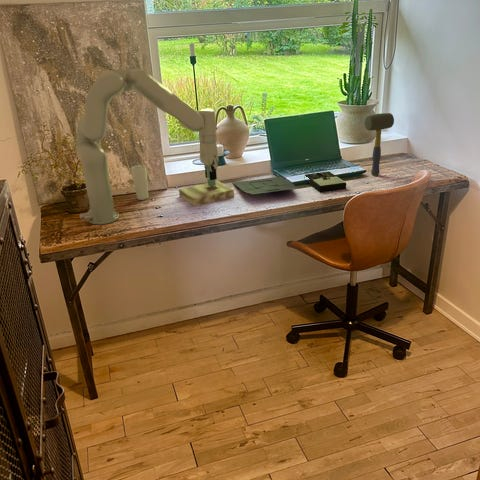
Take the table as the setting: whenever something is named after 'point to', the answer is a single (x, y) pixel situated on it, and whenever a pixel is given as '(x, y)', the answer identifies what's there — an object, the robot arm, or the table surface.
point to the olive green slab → (206, 193)
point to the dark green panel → (264, 185)
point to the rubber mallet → (378, 135)
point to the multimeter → (326, 182)
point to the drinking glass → (140, 181)
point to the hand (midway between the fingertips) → (211, 177)
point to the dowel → (210, 182)
